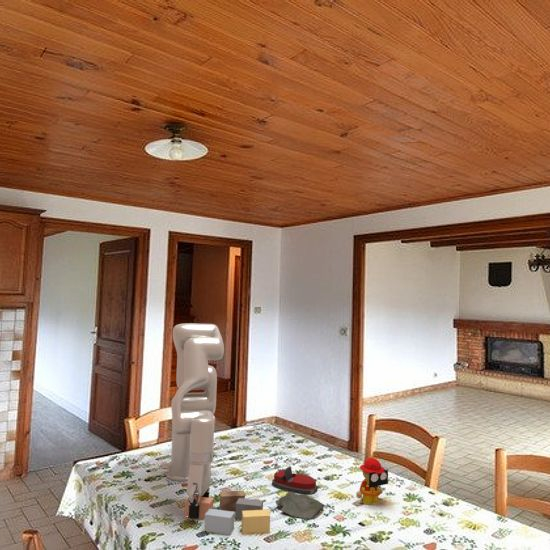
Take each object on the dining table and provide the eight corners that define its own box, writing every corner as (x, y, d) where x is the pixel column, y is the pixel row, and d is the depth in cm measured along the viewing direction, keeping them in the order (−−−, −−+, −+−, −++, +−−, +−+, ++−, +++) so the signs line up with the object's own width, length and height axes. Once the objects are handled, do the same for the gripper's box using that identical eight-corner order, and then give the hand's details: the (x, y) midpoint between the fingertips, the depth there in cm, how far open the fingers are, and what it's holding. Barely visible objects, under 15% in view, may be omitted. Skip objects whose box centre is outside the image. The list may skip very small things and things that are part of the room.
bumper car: (310, 498, 158) (311, 468, 159) (261, 485, 168) (262, 458, 168) (321, 488, 167) (321, 460, 167) (274, 477, 176) (275, 451, 177)
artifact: (269, 512, 147) (310, 525, 139) (269, 500, 147) (310, 512, 139) (290, 496, 159) (328, 507, 151) (290, 485, 159) (328, 495, 151)
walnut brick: (219, 512, 145) (220, 496, 145) (219, 506, 149) (220, 491, 149) (244, 511, 146) (245, 495, 147) (243, 505, 150) (243, 490, 150)
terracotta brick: (184, 517, 141) (185, 500, 141) (189, 511, 145) (189, 495, 145) (209, 519, 140) (209, 503, 140) (212, 514, 143) (213, 498, 144)
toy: (366, 510, 149) (367, 464, 150) (350, 499, 157) (351, 456, 158) (392, 504, 154) (393, 460, 155) (375, 494, 162) (376, 452, 163)
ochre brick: (242, 534, 131) (243, 517, 132) (241, 527, 135) (242, 510, 136) (269, 533, 133) (270, 515, 133) (267, 526, 137) (268, 509, 137)
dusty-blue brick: (204, 531, 132) (204, 514, 133) (209, 525, 136) (209, 508, 136) (230, 535, 130) (230, 517, 131) (234, 529, 134) (234, 511, 135)
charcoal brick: (235, 519, 140) (235, 503, 140) (238, 514, 144) (238, 498, 144) (260, 522, 139) (260, 506, 139) (262, 516, 143) (263, 500, 143)
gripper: (199, 446, 153) (196, 498, 151) (180, 464, 136) (177, 522, 134) (220, 448, 151) (218, 500, 150) (203, 466, 134) (201, 525, 133)
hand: (199, 510), depth 142 cm, fingers open, 9 cm apart
